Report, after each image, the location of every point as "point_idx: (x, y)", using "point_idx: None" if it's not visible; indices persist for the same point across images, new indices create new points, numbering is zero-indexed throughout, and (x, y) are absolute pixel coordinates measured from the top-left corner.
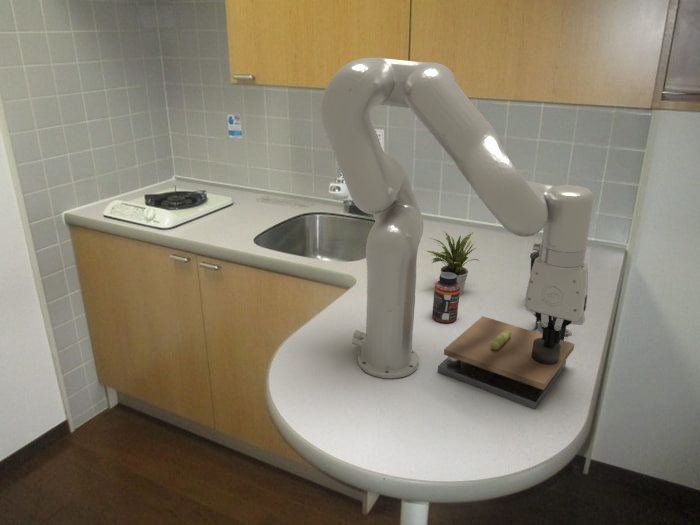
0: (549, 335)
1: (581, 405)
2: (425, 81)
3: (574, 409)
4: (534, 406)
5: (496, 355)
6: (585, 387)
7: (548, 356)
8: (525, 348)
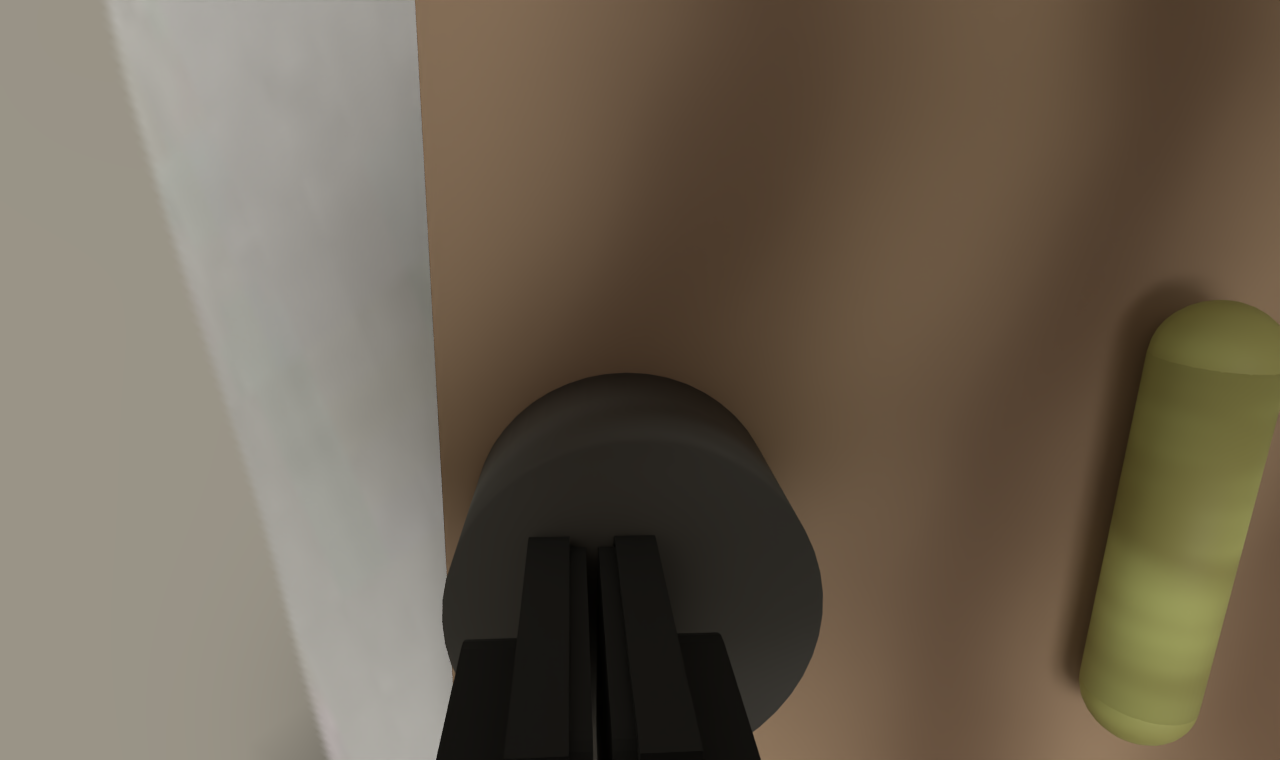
0: (605, 677)
1: (233, 300)
2: None
3: (253, 207)
4: None
5: (1127, 224)
6: (311, 558)
7: (547, 430)
8: (867, 571)
